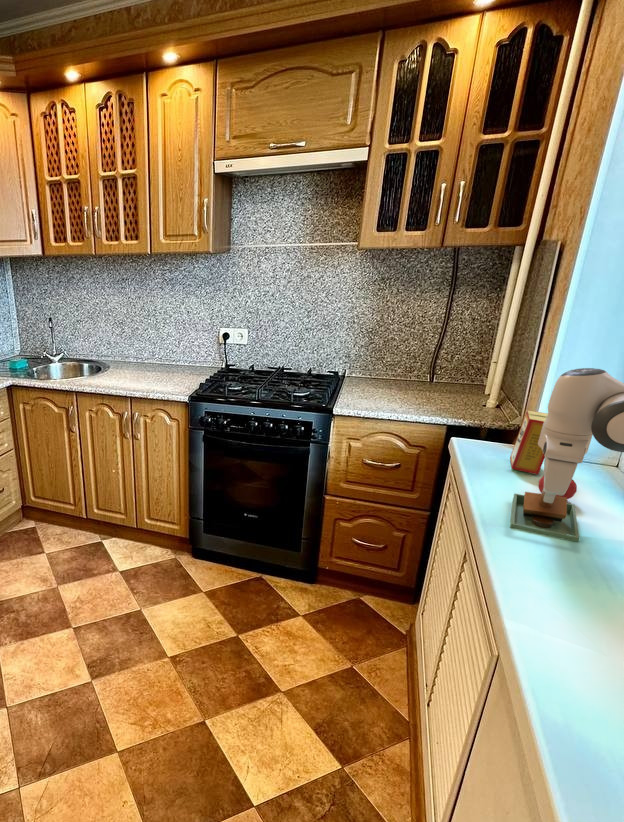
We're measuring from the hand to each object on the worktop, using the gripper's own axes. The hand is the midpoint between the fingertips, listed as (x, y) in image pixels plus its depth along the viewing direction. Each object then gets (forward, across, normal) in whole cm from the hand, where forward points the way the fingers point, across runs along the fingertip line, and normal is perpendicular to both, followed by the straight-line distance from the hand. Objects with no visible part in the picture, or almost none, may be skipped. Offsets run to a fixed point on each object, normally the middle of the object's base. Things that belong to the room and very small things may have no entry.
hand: (547, 497), depth 121 cm
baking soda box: (+8, -40, -4) cm, 41 cm away
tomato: (+8, -19, +3) cm, 21 cm away
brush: (+6, -4, 0) cm, 7 cm away
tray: (+8, -1, 0) cm, 8 cm away
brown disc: (+7, 0, 0) cm, 7 cm away
